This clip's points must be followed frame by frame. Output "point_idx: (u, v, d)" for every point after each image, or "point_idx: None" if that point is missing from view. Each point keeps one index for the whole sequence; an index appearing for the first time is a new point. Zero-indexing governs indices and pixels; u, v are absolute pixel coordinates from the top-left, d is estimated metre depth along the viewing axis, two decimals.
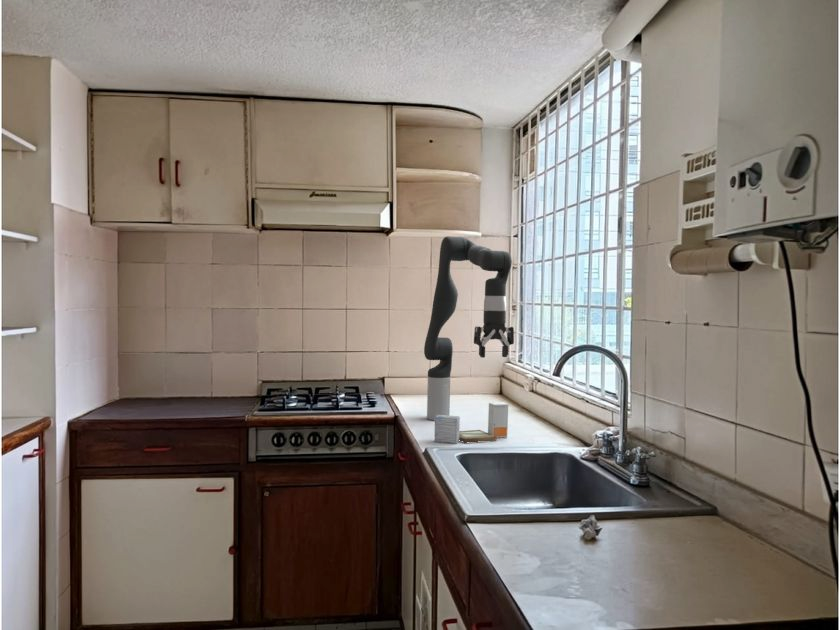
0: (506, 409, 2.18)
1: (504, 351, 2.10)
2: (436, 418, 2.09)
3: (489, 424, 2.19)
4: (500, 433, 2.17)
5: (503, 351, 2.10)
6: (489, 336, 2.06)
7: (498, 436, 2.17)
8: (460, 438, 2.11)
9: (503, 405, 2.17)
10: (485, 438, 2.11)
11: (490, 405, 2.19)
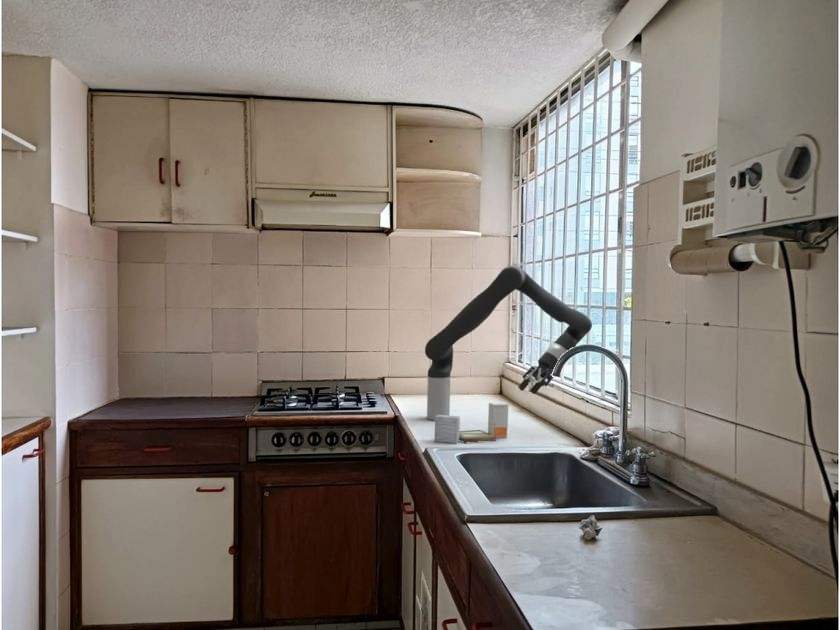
0: (506, 409, 2.18)
1: (524, 386, 2.27)
2: (436, 418, 2.09)
3: (489, 424, 2.19)
4: (500, 433, 2.17)
5: (523, 385, 2.27)
6: None
7: (498, 436, 2.17)
8: (460, 438, 2.11)
9: (503, 405, 2.17)
10: (485, 438, 2.11)
11: (490, 405, 2.19)
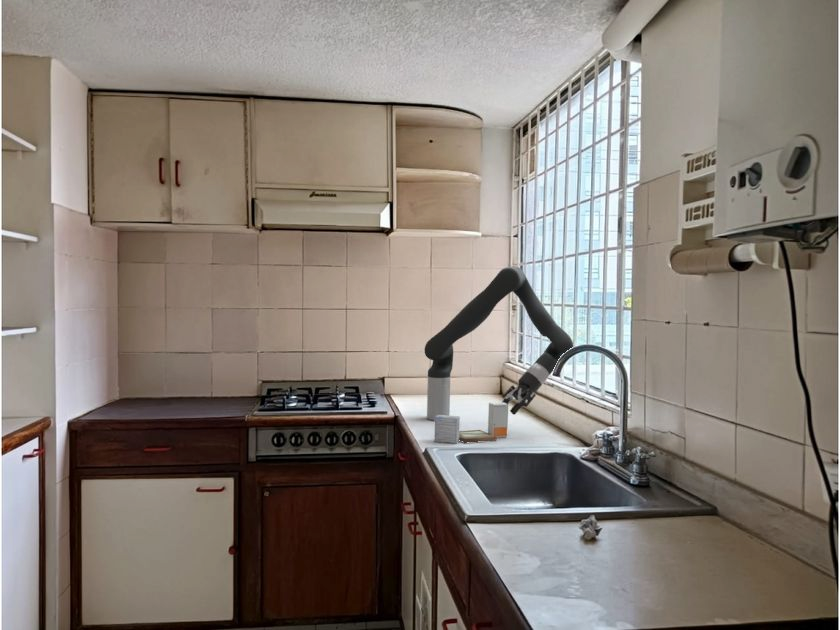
0: (506, 409, 2.18)
1: None
2: (436, 418, 2.09)
3: (489, 424, 2.19)
4: (500, 433, 2.17)
5: None
6: None
7: (498, 436, 2.17)
8: (460, 438, 2.11)
9: (503, 405, 2.17)
10: (485, 438, 2.11)
11: (490, 405, 2.19)
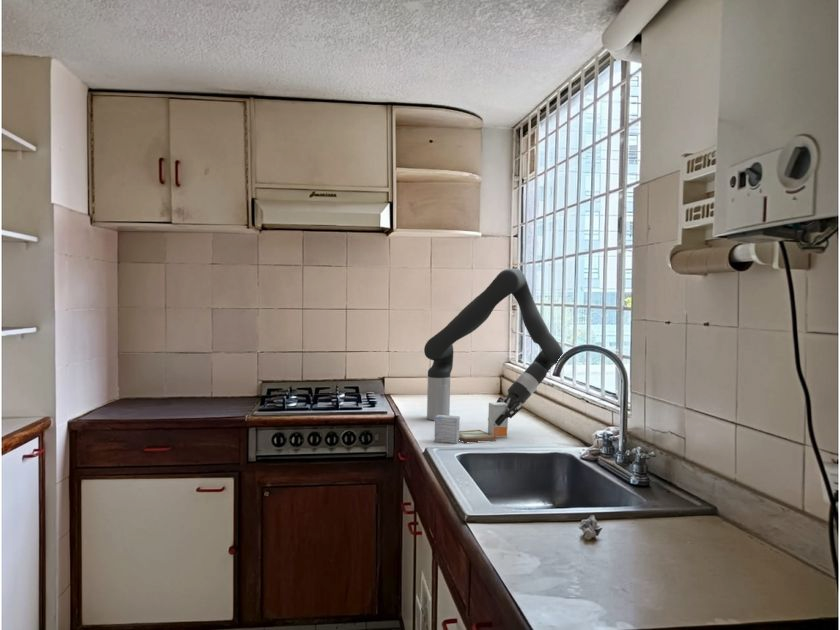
0: None
1: None
2: (436, 418, 2.09)
3: (489, 424, 2.19)
4: (500, 433, 2.17)
5: None
6: None
7: (498, 436, 2.17)
8: (460, 438, 2.11)
9: (503, 405, 2.17)
10: (485, 438, 2.11)
11: (490, 405, 2.19)
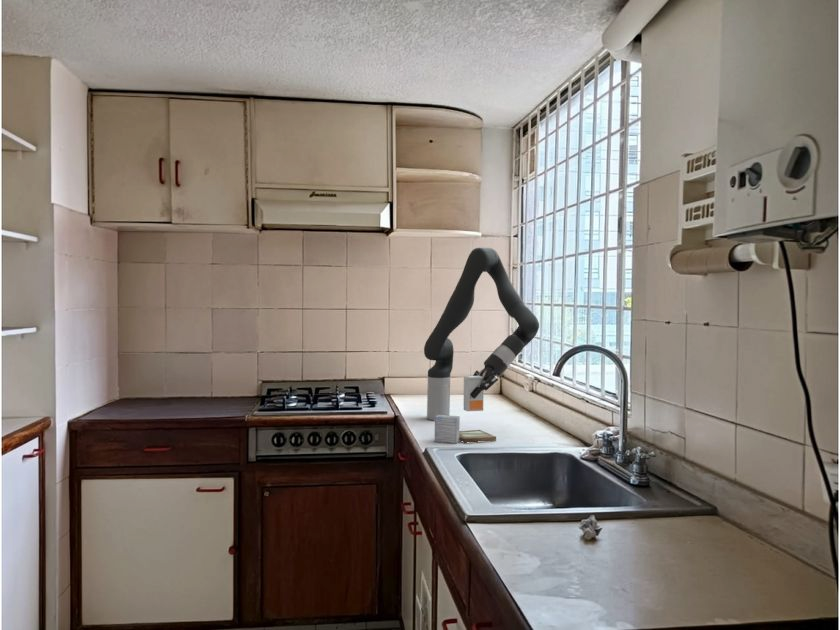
0: None
1: None
2: (436, 418, 2.09)
3: (465, 398, 2.15)
4: (476, 406, 2.13)
5: None
6: None
7: (474, 409, 2.13)
8: (460, 438, 2.11)
9: (478, 378, 2.14)
10: (485, 438, 2.11)
11: (465, 378, 2.15)
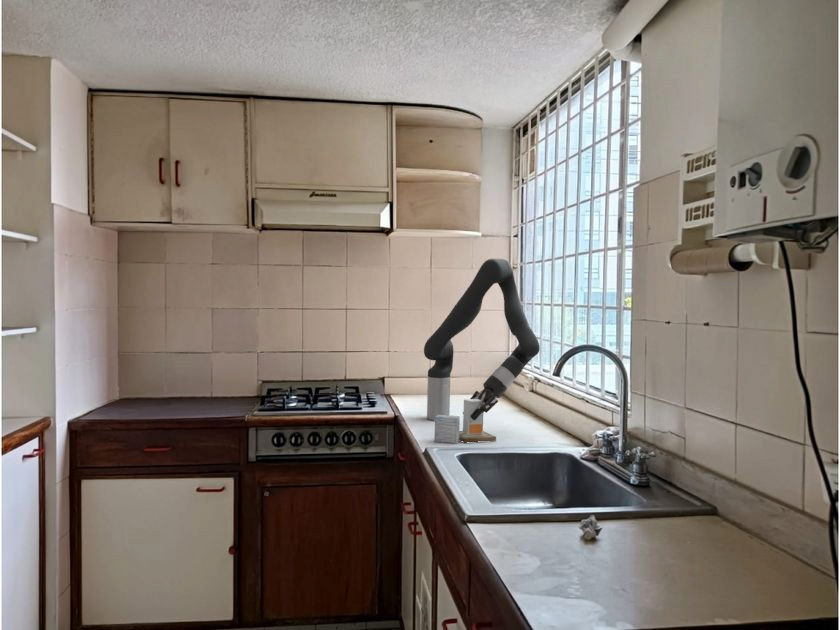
0: None
1: None
2: (436, 418, 2.09)
3: (464, 421, 2.15)
4: (476, 430, 2.13)
5: None
6: None
7: (474, 433, 2.13)
8: (460, 438, 2.11)
9: (479, 402, 2.14)
10: (485, 438, 2.11)
11: (465, 402, 2.14)
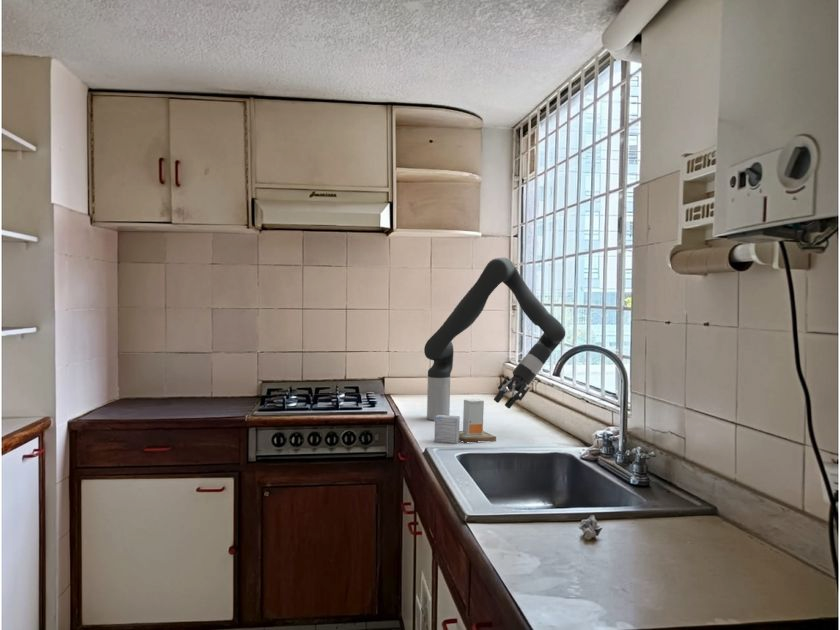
0: (482, 406, 2.14)
1: (500, 398, 2.25)
2: (436, 418, 2.09)
3: (464, 421, 2.15)
4: (476, 430, 2.13)
5: (499, 397, 2.25)
6: None
7: (474, 433, 2.13)
8: (460, 438, 2.11)
9: (479, 402, 2.14)
10: (485, 438, 2.11)
11: (465, 402, 2.14)
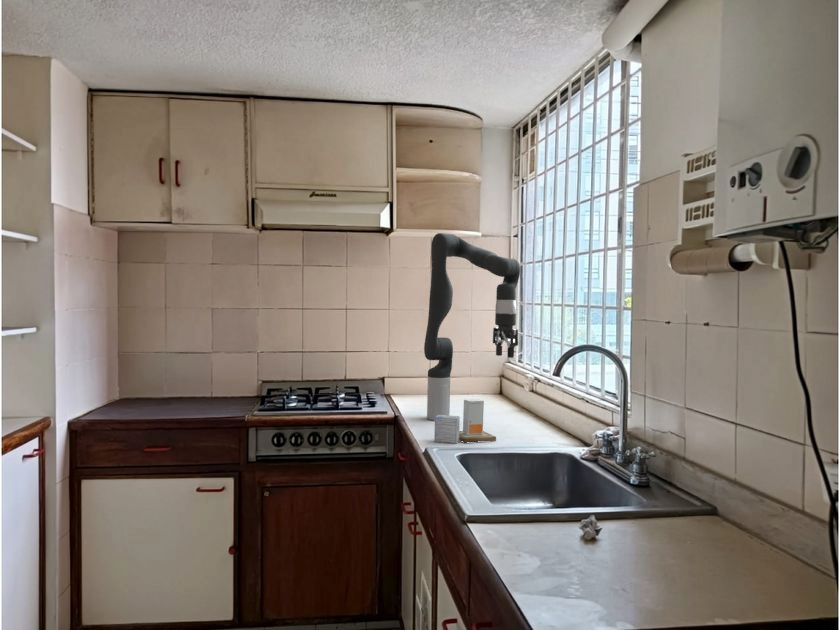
0: (482, 406, 2.14)
1: (500, 350, 2.29)
2: (436, 418, 2.09)
3: (464, 421, 2.15)
4: (476, 430, 2.13)
5: (499, 350, 2.29)
6: None
7: (474, 433, 2.13)
8: (460, 438, 2.11)
9: (479, 402, 2.14)
10: (485, 438, 2.11)
11: (465, 402, 2.14)
